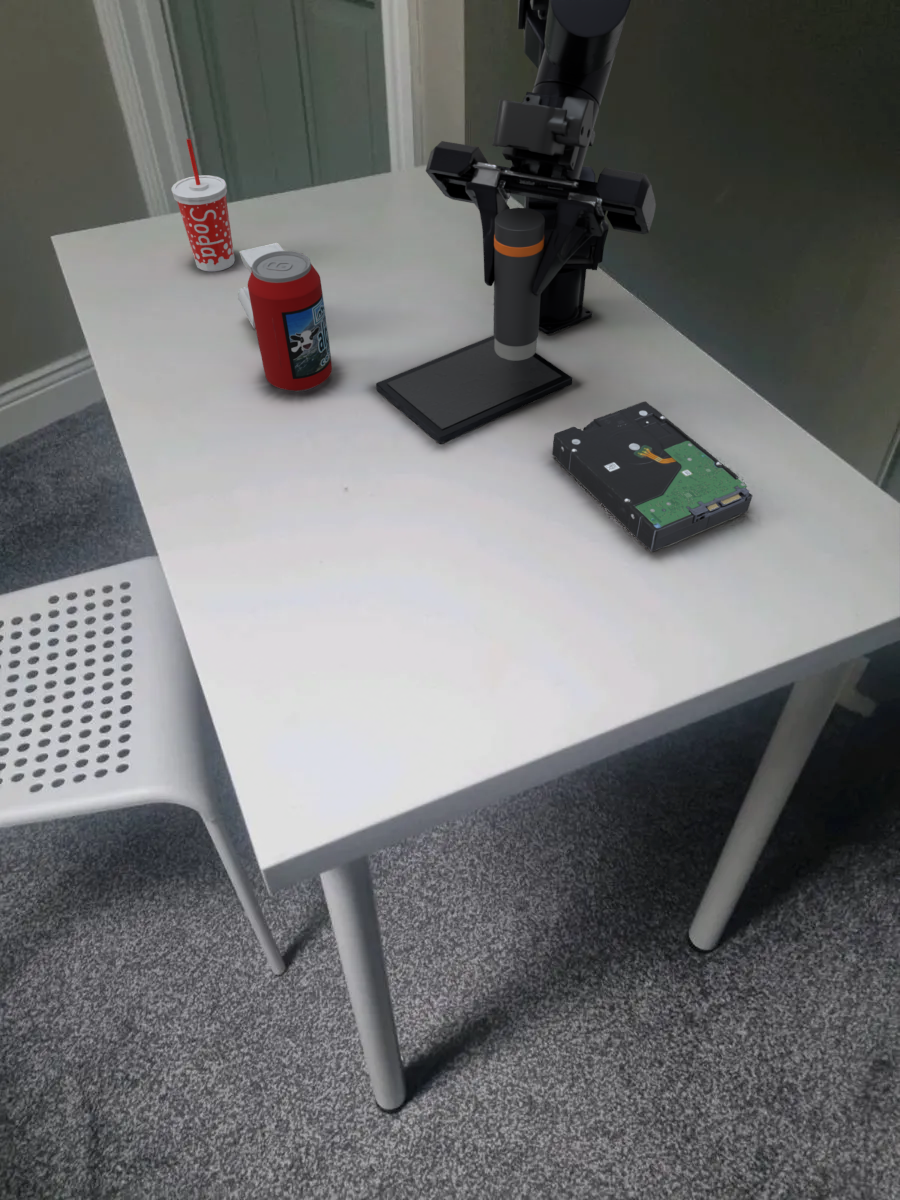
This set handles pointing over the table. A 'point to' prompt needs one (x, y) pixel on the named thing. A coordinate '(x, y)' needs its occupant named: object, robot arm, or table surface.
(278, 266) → the beverage can
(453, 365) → the tablet
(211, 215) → the beverage cup
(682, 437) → the disk drive
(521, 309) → the flashlight
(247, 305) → the stamp
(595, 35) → the robot arm
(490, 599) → the table surface
